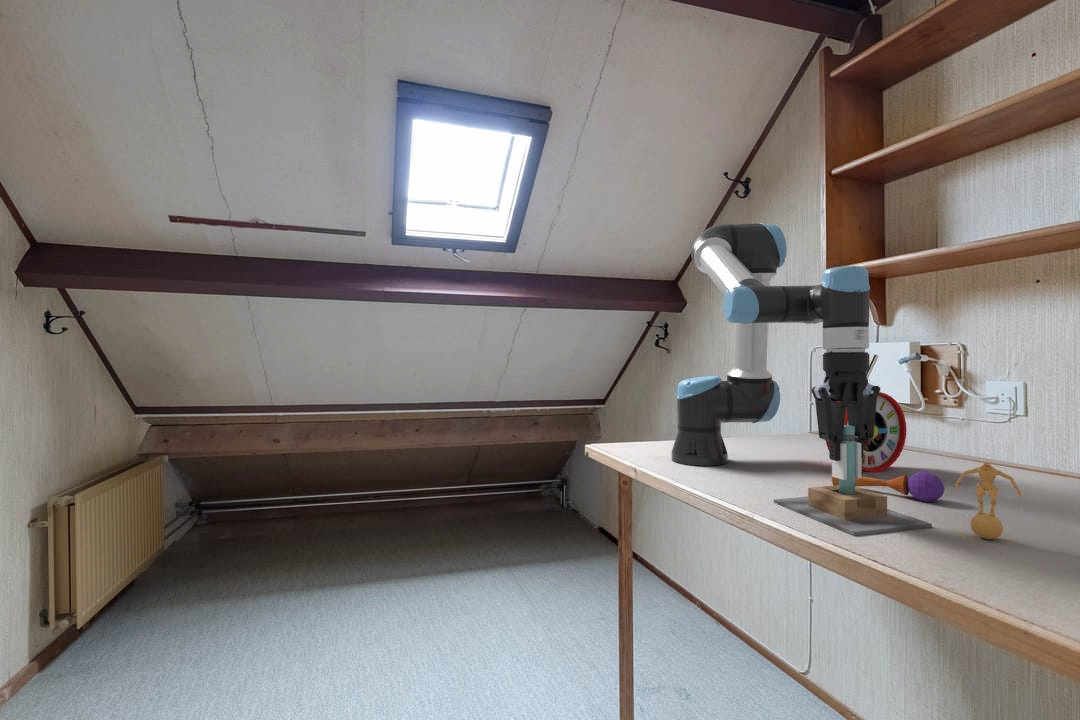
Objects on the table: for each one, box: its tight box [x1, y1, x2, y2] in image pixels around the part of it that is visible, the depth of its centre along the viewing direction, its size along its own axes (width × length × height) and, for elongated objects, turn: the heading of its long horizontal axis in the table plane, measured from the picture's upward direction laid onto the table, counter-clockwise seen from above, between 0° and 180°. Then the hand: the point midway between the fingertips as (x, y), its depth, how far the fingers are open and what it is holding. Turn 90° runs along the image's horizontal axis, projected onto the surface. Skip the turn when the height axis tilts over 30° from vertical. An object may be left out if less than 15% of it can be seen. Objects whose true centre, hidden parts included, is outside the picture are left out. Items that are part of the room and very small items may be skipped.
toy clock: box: [825, 391, 907, 473], centre depth 134 cm, size 20×6×20 cm, turn 106°
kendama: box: [831, 471, 945, 503], centre depth 112 cm, size 6×6×20 cm
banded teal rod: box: [839, 425, 856, 495], centre depth 98 cm, size 3×3×15 cm
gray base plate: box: [773, 485, 933, 536], centre depth 99 cm, size 20×16×4 cm
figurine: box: [954, 461, 1023, 540], centre depth 86 cm, size 8×6×12 cm
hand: (846, 477), depth 98 cm, fingers closed on banded teal rod, 2 cm apart
